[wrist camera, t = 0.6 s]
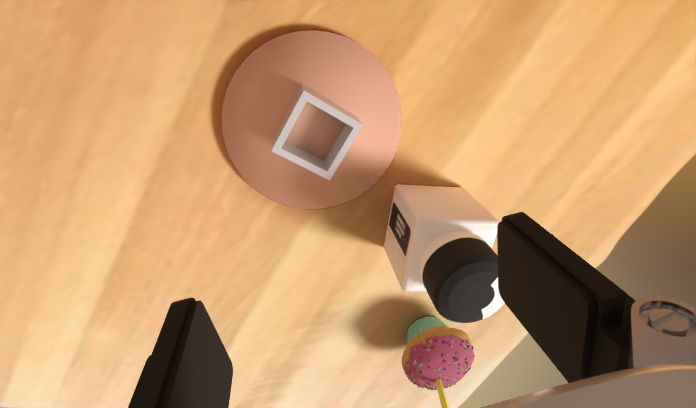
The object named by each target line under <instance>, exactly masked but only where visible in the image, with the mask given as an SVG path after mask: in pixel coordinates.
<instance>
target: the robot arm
mask: <svg viewBox="0 0 696 408" xmlns="http://www.w3.org/2000/svg"><path fill="white" fill-rule="evenodd" d="M497 237H498V290H499V294H500V296H501V298H502V300H503V301H504V302H505V304H506V305H507V306H508V307H509V309H510V310H511V311H512V312H513V314H514V315H515V316H516V317H517V319H518V320H519V321H520V322H521V324H522V325H523V326H524V327H525V329H526V330H527V331H528V332H529V334H530V335H531V336H532V337H533V339H534V340H535V341H536V342H537V344H538V345H539V346H540V347H541V349H542V350H543V351H544V352H545V353H546V355H547V356H548V357H549V359H550V360H551V361H552V362H553V364H554V365H555V366H556V367H557V369H558V370H559V371H560V372H561V374H562V375H563V376H564V377H565V379H566V380H567V381H568V382H569V383H568V384H564V385H560V386H556V387H553V388H549V389H545V390H542V391H538V392H535V393H531V394H528V395H525V396H521V397H517V398H514V399H510V400H506V401H503V402H500V403H496V404H492V405H489V406H485V407H482V408H696V309H695V308H693V307H692V306H690V305H688V304H686V303H683V302H681V301H678V300H675V299H671V298H666V297H657V296H651V297H644V298H641V299H638V300H637V301H635V300H634V299H633V298H631V297H630V296H629V295H627V293H626V292H624V291H623V290H622V289H620V288H619V287H618V286H617V285H615V284H614V283H613V282H612V281H610V280H609V279H608V278H606V277H605V276H604V275H603V274H601V273H600V272H599V271H598V270H596V269H595V268H594V267H592V266H591V265H590V264H589V263H587V262H586V261H585V260H584V259H582V258H581V257H580V256H578V255H577V254H576V253H575V252H573V251H572V250H571V249H570V248H568V247H567V246H566V245H564V244H563V243H562V242H561V241H559V240H558V239H557V238H555V237H554V236H553V235H552V234H550V233H549V232H548V231H547V230H545V229H544V228H543V227H541V226H540V225H539V224H538V223H536V222H535V221H534V220H533V219H531V218H530V217H529V216H527V215H526V214H525V213H523V212H519V213H515V214H511V215H508V216H504V217H503V218H502V222H499V223H498V226H497ZM232 376H233V367H232V362H231V360H230V358H229V356H228V354H227V352H226V350H225V348H224V346H223V344H222V341H221V339H220V337H219V335H218V333H217V331H216V329H215V327H214V325H213V323H212V321H211V319H210V317H209V315H208V313H207V311H206V309H205V307H204V305H203V303H202V302H201V301H196V300H195V299H194V298H188V299H184V300H180V301H176V302H173V303H172V304H171V306H170V308H169V311H168V313H167V316H166V318H165V321H164V324H163V326H162V329H161V332H160V334H159V337H158V339H157V342H156V345H155V347H154V350H153V352H152V355H150V356H149V357H148V359H147V361H146V363H145V366H144V368H143V371H142V373H141V376H140V379H139V381H138V384H137V386H136V389H135V391H134V394H133V396H132V399H131V402H130V404H129V407H128V408H228V406H229V399H230V391H231V383H232Z"/></svg>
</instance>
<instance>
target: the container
mask: <svg viewBox="0 0 696 408" xmlns="http://www.w3.org/2000/svg"><path fill="white" fill-rule="evenodd" d="M498 223H499V221H498V220H497V219H496V218H495V217H494V216H493V215H492V214H491V213H490V212H489V211H488V210H487V209H486V208H485V207H484V206H483V205H482V204H481V203H479V202H478V201H477V200H476V199H475V198H474V197H473V196H472V195H471V194H470V193H469V192H468V191H467V190H466V189H465V188H461V187H441V186H421V185H400V184H398V185H396V186H395V188H394V194H393V199H392V205H391V210H390V215H389V221H388V226H387V232H386V237H385V243H384V249H385V251H386V254H387V256H388V258H389V261H390V263H391V265H392V267H393V270H394V272H395V274H396V277H397V279H398V281H399V283H400V286H401V288H402V289H403V290H404V291H427V292H428V294H429V296H430V298H431V300H432V302H433V304H434V306H435V308H436V309H437V311H438V312H439V314H440V315H442V316H443V317H444V318H446V319H448V320H451V321H455V322H460V323H469V322H475V321H479V320H482V319H484V318H486V317H488V316H490V315H492V314H493V313H494V312H496V311H497V310H498V309H499V308H500V307H501V306H502V305H503V304H504V303H505V302H504V301H503V300H502V298H501V296H500V294H499V290H498V254H497V253H496V252H495V251H494V250H493V249H492V247H493V244H494V241H495V238H496V235H497V226H498Z"/></svg>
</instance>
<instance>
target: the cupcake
mask: <svg viewBox="0 0 696 408" xmlns="http://www.w3.org/2000/svg"><path fill="white" fill-rule="evenodd" d="M473 360H474V354H473V346H471V341H470V338H469V337H468V335H467V334H466V333H465V332H463V331H462V330H458V329H455V328H449V327H447V326H446V325H445V324H444V323H443V322H442V321H441V320H440V319H438V318H436V317H431V316H429V317H423V318H420V319H418V320H416V321H415V322H413V323H412V324H411V326H410V327H409V329H408V332H407V346H406V348H405V350H404V353H403V356H402V366H403V369H404V372H405V374H406V375H407V377H408V379H409V380H410V382H413V384H416V385H417V386H418V388H419V387H421V388H424V387H425V388H427V389H431V390H433V389H434V390H436V389H437V390H438V394H439V398H440V401H441V405H442V408H449V407H448V404H447V400H446V397H445V393H444V389H443V388H448V386H449V387H451V385H455V384H456V382H458V381H459V380H460V379H462V378H463V377H464V375H465V374H466V373H467V372H468V370H470V368H471V364H472V362H473Z"/></svg>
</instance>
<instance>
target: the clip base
mask: <svg viewBox="0 0 696 408" xmlns="http://www.w3.org/2000/svg"><path fill="white" fill-rule="evenodd" d="M221 122H222V133H223V139H224V143H225V146H226V149H227V152H228V155H229V157H230V159H231V161H232V163H233V165H234V166H235V168H236V169H237V171H238V172H239V174H240V175H241V176H242V177H243V178H244V179H245V180H246V182H247V183H248V184H250V185H251V186H252V187H253V188H254V189H255V190H257V191H258V192H259V193H261V194H262V195H264V196H266V197H267V198H269V199H271V200H273V201H275V202H278V203H281V204H283V205H287V206H291V207H295V208H302V209H321V208H329V207H333V206H337V205H340V204H343V203H346V202H348V201H350V200H352V199H354V198H356V197H358V196H359V195H361V194H363V193H364V192H366V191H367V190H368V189H369V188H370V187H372V186H373V185H374V184H375V183H376V182H377V181H378V180H379V179H380V178H381V176H382V175H383V174H384V172H385V171H386V170H387V168H388V167H389V165H390V163H391V162H392V160H393V158H394V155H395V153H396V150H397V148H398V144H399V141H400V136H401V129H402V112H401V104H400V100H399V96H398V92H397V90H396V87H395V84H394V82H393V80H392V78H391V77H390V75H389V73H388V71H387V70H386V69H385V67H384V66H383V65H382V63H381V62H380V61H379V60H378V59H377V58H376V57H375V56H374V55H373V54H372V53H371V52H370V51H368V50H367V49H366V48H364V47H363V46H362V45H360V44H358V43H356V42H355V41H353V40H351V39H349V38H346V37H344V36H341V35H338V34H334V33H330V32H326V31H316V30H307V31H297V32H292V33H287V34H284V35H281V36H278V37H276V38H274V39H272V40H270V41H268V42H266V43H264V44H263V45H261V46H260V47H258V48H257V49H256V50H254V51H253V52H252V53H251V54H250V55H249V56H248V57H247V58H246V59H245V60H244V61H243V62H242V64H241V65H240V66H239V68H238V69H237V70H236V72H235V74H234V75H233V77H232V79H231V81H230V83H229V85H228V88H227V90H226V93H225V97H224V101H223V105H222V116H221Z"/></svg>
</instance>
